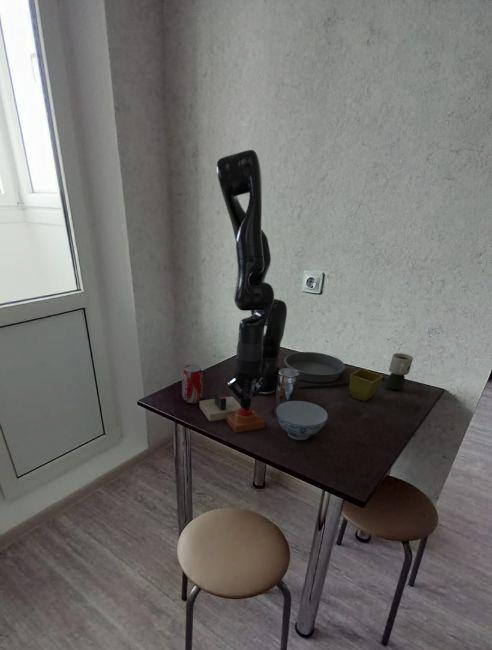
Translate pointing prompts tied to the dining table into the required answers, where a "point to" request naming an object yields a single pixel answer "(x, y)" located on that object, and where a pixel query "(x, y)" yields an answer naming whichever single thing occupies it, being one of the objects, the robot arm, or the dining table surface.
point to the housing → (244, 421)
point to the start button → (245, 412)
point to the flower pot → (364, 384)
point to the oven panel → (214, 412)
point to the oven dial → (220, 401)
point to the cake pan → (315, 366)
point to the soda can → (192, 384)
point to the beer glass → (286, 386)
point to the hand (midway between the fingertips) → (245, 408)
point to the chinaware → (301, 418)
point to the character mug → (398, 370)
